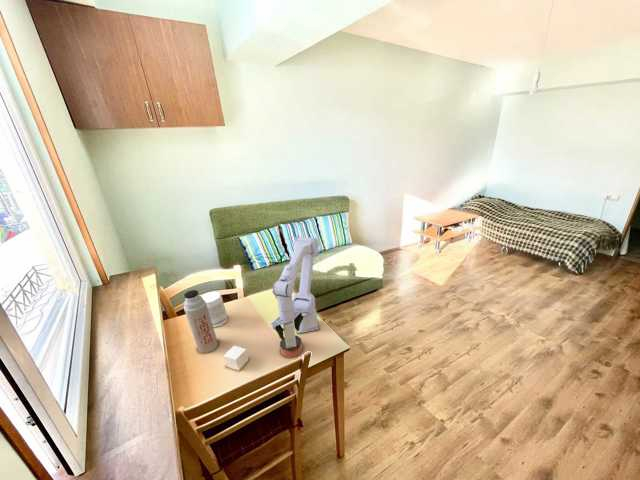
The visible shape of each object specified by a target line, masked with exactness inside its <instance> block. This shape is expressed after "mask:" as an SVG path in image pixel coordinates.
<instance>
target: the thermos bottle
mask: <svg viewBox="0 0 640 480" xmlns="http://www.w3.org/2000/svg"><path fill="white" fill-rule="evenodd" d="M183 296H184V298H185V299H184V301H183V305H184V306H183V311H184V313H185V316H186V318H187V322H188V325H189V327H190V330H191V333H192V336H193V339H194V342H195V346H196V348H197V350H198V352H199V353H201V354H207V353H210V352H212V351H214V350H215V349H216V348H217V347H218V346H219V341H218V339H217V336H216V331H215V327H213V325H212V321H211V318H210V315H209V312H208V308H207V305H206V301H205V300H203V298H202V297H201V296H202V295H200V294H199V291H198V290H197V289H192V290H188V291H186V292H184V294H183Z"/></svg>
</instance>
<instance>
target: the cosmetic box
mask: <svg viewBox="0 0 640 480" xmlns="http://www.w3.org/2000/svg"><path fill="white" fill-rule="evenodd" d="M282 328H283V329H284V331H283V335H284V338H285V342H286V348H291V347H296V338H295V335H296V329H295V326H294V320H293V321H291V322H289V323H285V324H282Z"/></svg>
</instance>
